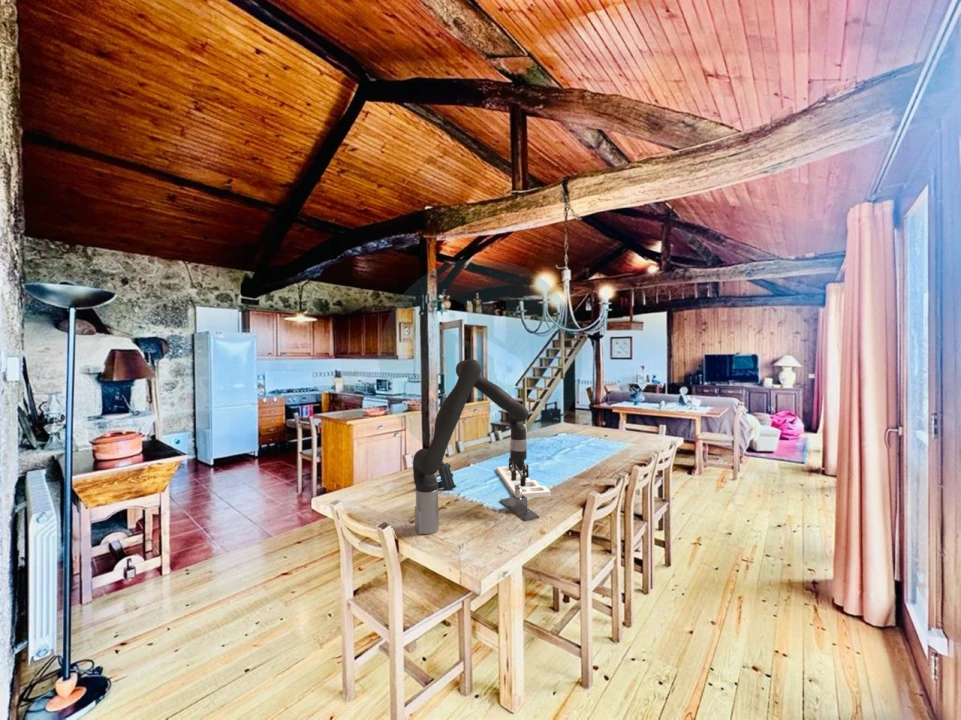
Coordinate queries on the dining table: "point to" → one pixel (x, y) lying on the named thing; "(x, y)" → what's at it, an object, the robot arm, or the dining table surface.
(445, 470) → the gun
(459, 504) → the dining table surface
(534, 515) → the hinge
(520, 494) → the pin
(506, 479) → the holder
